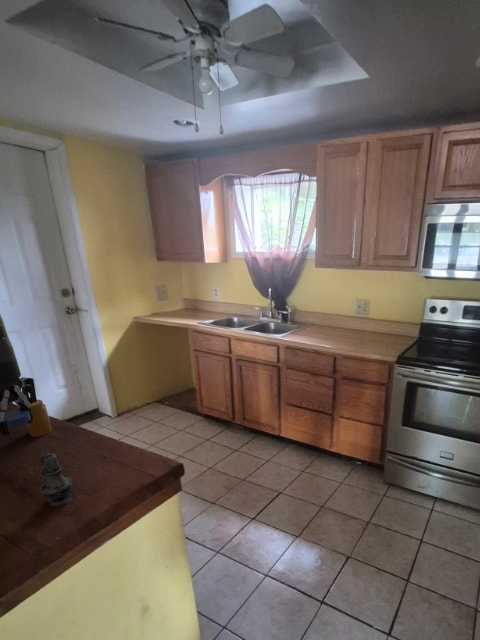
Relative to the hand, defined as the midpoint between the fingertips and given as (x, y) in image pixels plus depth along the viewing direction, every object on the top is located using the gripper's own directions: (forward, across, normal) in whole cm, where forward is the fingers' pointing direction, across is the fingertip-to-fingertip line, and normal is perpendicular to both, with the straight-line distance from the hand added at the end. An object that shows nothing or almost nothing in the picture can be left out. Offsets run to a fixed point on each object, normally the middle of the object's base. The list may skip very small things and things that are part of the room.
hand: (16, 428), depth 85 cm
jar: (+11, +15, +10) cm, 22 cm away
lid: (-3, 0, 0) cm, 3 cm away
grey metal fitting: (+12, -9, -15) cm, 21 cm away
